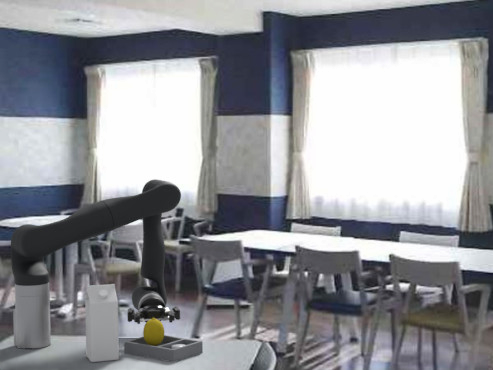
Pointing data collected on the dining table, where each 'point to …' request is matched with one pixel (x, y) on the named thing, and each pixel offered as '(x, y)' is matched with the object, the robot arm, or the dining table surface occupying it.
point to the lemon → (153, 332)
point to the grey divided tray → (164, 348)
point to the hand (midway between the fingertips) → (154, 319)
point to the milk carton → (101, 323)
